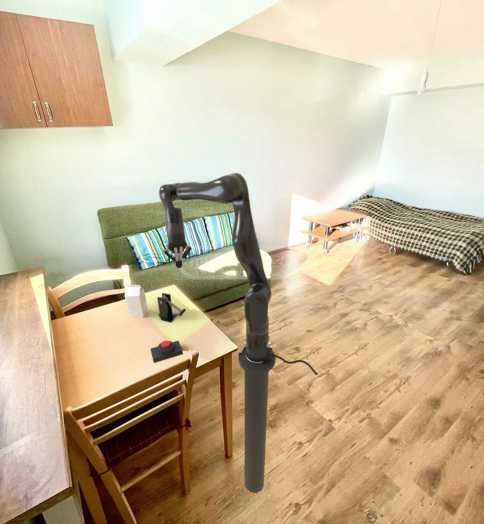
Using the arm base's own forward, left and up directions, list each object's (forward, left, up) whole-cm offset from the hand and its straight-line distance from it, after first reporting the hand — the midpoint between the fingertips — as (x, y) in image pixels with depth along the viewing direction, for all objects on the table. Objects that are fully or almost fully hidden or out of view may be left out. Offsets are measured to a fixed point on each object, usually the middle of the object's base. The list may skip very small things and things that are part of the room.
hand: (179, 267), depth 127 cm
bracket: (+10, +1, -29) cm, 31 cm away
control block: (-4, +24, -29) cm, 38 cm away
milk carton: (+24, +4, -29) cm, 38 cm away
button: (-4, +23, -25) cm, 35 cm away
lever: (+6, +1, -22) cm, 23 cm away
